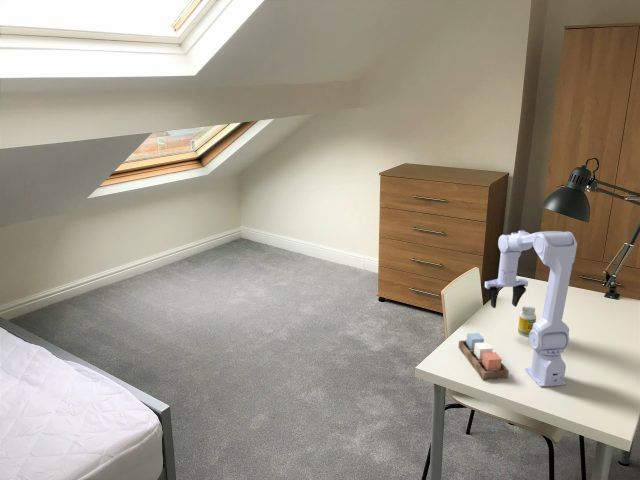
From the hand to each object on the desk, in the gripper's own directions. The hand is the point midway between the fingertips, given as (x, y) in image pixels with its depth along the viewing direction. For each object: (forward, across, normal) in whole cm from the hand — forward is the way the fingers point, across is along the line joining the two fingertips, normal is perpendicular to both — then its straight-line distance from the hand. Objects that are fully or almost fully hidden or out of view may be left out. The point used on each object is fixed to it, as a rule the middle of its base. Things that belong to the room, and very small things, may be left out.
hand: (503, 306), depth 182 cm
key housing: (+10, +15, +18) cm, 25 cm away
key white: (+8, +15, +18) cm, 24 cm away
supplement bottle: (+10, -8, +2) cm, 13 cm away
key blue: (+8, +15, +12) cm, 20 cm away
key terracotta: (+8, +15, +24) cm, 29 cm away
